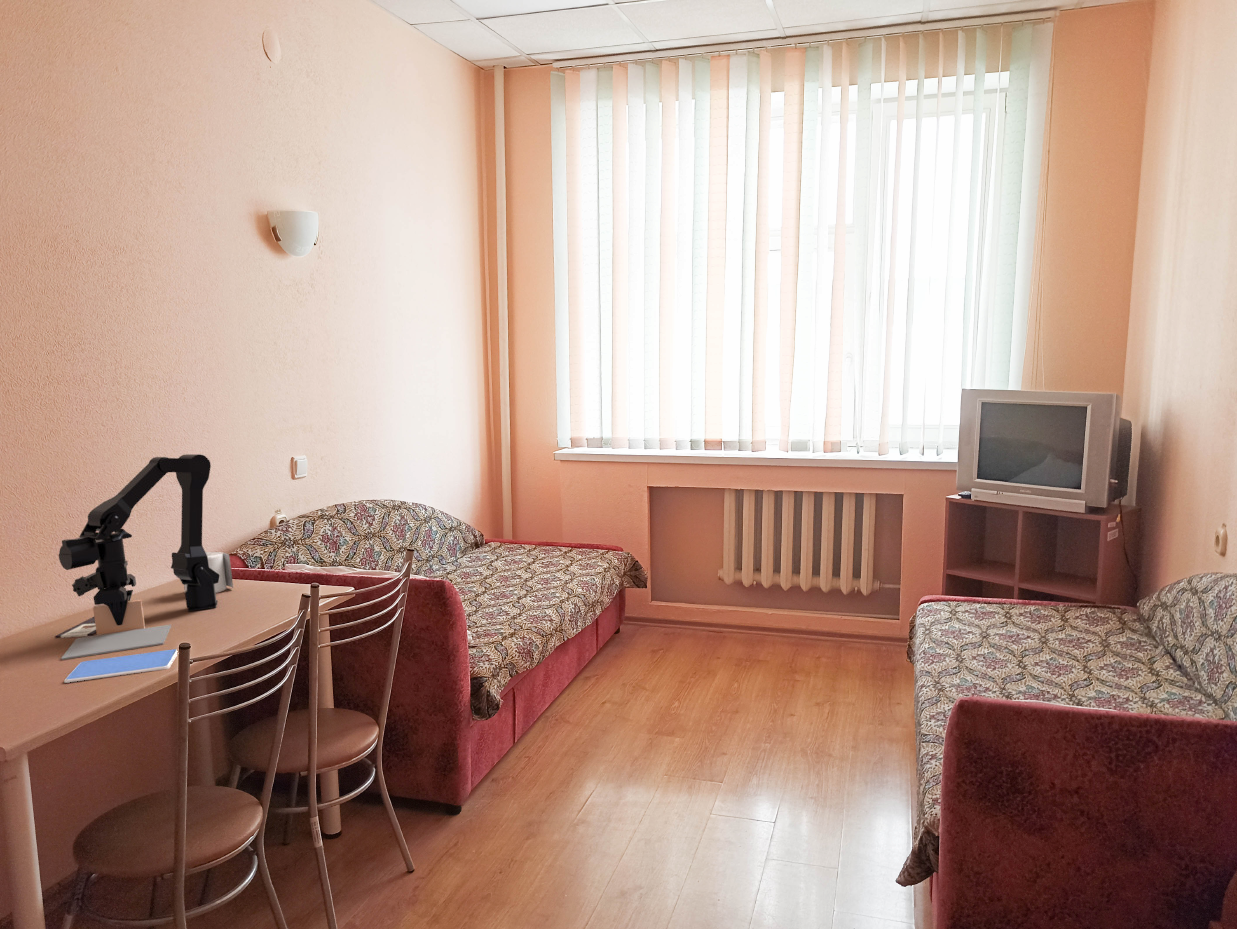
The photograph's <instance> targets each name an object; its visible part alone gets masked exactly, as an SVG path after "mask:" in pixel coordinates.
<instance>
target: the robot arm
mask: <svg viewBox="0 0 1237 929" xmlns="http://www.w3.org/2000/svg"><path fill="white" fill-rule="evenodd" d="M211 468H212V466H211V460H210V459H209V458H208V457H207V456H206V455H204V454H198V453H197V454H187V453H185V454H183V455H180V456H178V457H176V458H175V457H168V456H167V457H166V456H155V457H152V458H151V459H150V460H149V462H148V463H147V464H146V466H144V467H143V468H142V470H140V471H139V472H138V473H137V474H136V475H135V476H134V477H133V478H132V479H131V480H130V481H129V482H128V483H127V484H126V485H125V486H124V487H123V488H122V489H121V490H120V491H119V492H118V493H117V494H116V495H114V496H112V497H111V498H108V499H107V500H104V501H102V503H100V504H99V505H97V506H95V507H94V508H93V509H92V510H91V511H90V512H89V513H88V515H87V521H86V524H85V526H84V527H83V529H82V531H81V532H80V534H79V536H78V537H75V538H71V539H70V538H69V539H68V538H66V539H63V540H62V541H61V544H62V545H61V547H60V548H59V553H58V560H59V562H60V565H61V567H62V568H63V569H65V570H66V571H69V570H73V569H74V570H75V569H77V568H82V567H87V566H92V565H94V564H95V563H96V562H97V567H96V568H95V572H93V573H91V574H88V575H86V576H83V575H82V576H80V577H78V578H75V579H74V582H73V583H72V584H71V586H72V591H73V592H74V593H76V595H77V597H81V596H84V595H85V594H86V593H88V592H90V591H93V590H95V589H96V588H97V592H96V594H94V595H93V602H94V606H96V605H103V604H105V605H107V606H108V607H109V609H110V611H111V613H112V615H113V618H114V620H115V622H116V624H117V625H122V624H123V620H124V616H125V612H126V608H127V604H128V601H131V600H132V595H133V592H134V590H133V589H129V590H127V588H126V586H131V587H136V586H137V580H136V576H134V575H133V574H132V573H128V569H127V567H128V565H129V563H128V562H129V561H128V560H126V555H125V546H124V540H125V539H130V538H132V536H133V535H132V534H131V533H130V532H127V530H125V528H124V526H125V525H126V523H127V522H128V520H129V518H130V517H131V514H132V511H133V509H134V507H135V506H136V505H137V504H138V503H139V502H140V501H141V500H142V499H143V498H144V497H145V496H146V494H148V493H149V492H150V491H151V490H152V489H153V488H154V487H155V486H156V485H157V483H159V482H160V481H161V479H162V478H164V476H166V474H168V473H175V475H176V480H177V482H178V484H179V486H180V488H181V530H180V532H181V534H180V536H181V537H180V538H181V539H180V541H181V542H180V547H179V549H178V550H177V552H172V553H171V559H172V560H171V561H172V562H171V567H170V569H172V571H173V575H174V576H176V577H177V578H178V579H179V581H180V582H181V584H182V585H183V586H184V585H185V584H186V585H187V590H186V592H185V591H184V597H185V604H186V608H187V610H188V612H194V611H201V610H207V609H215V608H217V606H218V602H219V601H218V600H217V593H215V585H214V584H216V583H218V581H219V576H220V575H219V574H218V573H216V572H215V571H213V570H212V569H211V568H209V564H208V557H207V555H206V553H207V552H206V551H205V548H204V547H203V515H204V514H203V508H204V507H203V506H204V505H203V504H204V503H203V502H204V500H203V499H204V498H203V497H204V488H205V487H206V484H207V483H208V481H209V479H210V473H211V472H210V471H211Z"/></svg>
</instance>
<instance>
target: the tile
mask: <svg viewBox="0 0 1237 929" xmlns="http://www.w3.org/2000/svg"><path fill="white" fill-rule="evenodd" d="M143 608H144V607H143V602H142V599H141V598H140V599H134V600H132V599H131V600H130V601H128V604H127V608H126V612H125V616H124V620H123V624H122V625H117V624H116V622H115V620H114V618H113V615H112V613H111V611H110V609H109V607H108V606H107V605H105V604H100V605H93V606H92V609H93V610H92V611H93V617H94V618H95V625H96V632H97V634H96V635H103V634H109V633H116V632H123V631H130V630H136V629H143V628H146V624H145V617H144V609H143Z"/></svg>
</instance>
